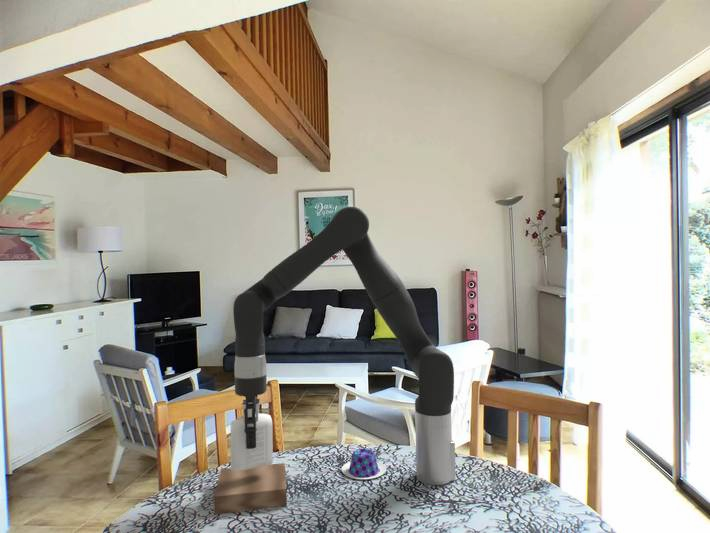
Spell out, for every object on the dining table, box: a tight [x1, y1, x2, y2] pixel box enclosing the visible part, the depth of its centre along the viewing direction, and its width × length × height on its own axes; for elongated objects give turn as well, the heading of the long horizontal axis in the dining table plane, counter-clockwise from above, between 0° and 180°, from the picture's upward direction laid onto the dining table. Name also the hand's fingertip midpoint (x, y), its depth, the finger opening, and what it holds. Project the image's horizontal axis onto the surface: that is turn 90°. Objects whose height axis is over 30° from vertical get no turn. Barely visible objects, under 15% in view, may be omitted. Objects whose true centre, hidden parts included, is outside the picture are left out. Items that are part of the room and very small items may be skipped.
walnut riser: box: [213, 462, 288, 515], centre depth 108 cm, size 16×14×4 cm
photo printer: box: [230, 412, 274, 472], centre depth 108 cm, size 10×4×12 cm, turn 122°
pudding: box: [341, 448, 387, 480], centre depth 120 cm, size 12×12×5 cm
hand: (251, 442), depth 108 cm, fingers closed on photo printer, 5 cm apart
